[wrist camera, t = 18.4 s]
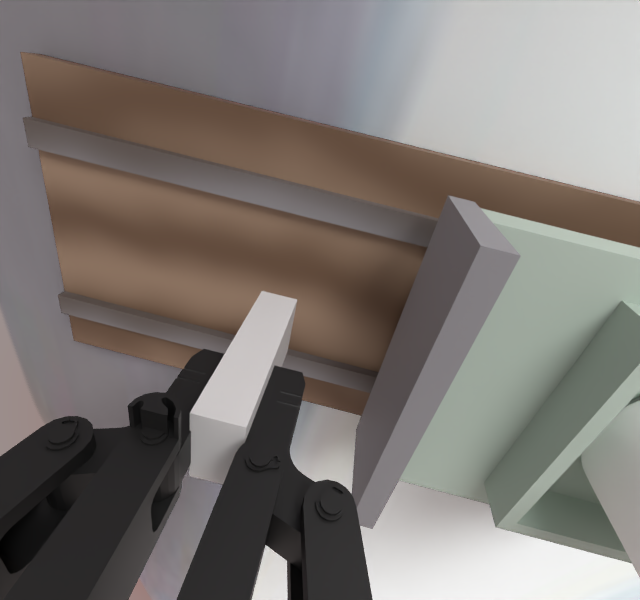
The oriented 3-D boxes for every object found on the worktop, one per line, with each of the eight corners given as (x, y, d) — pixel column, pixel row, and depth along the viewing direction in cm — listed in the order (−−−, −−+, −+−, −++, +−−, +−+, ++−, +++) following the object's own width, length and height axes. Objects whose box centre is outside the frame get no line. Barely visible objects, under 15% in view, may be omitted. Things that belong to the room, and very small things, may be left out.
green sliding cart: (443, 187, 14) (480, 245, 9) (903, 302, 14) (1229, 433, 9) (357, 412, 21) (349, 522, 16) (666, 493, 21) (767, 633, 15)
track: (40, 54, 16) (-28, 46, 13) (1002, 291, 15) (1133, 333, 12) (85, 331, 23) (48, 361, 21) (719, 496, 22) (763, 548, 20)
